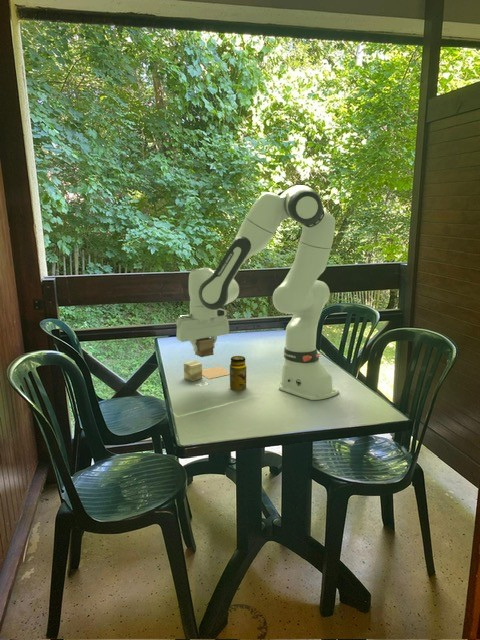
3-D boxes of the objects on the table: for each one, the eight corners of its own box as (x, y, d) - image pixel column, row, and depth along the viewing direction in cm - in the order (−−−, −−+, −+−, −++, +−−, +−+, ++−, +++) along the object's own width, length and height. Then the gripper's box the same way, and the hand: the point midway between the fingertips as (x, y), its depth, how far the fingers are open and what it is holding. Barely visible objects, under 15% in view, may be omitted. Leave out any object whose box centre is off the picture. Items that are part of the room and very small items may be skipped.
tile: (216, 386, 161) (216, 385, 161) (199, 389, 157) (199, 388, 157) (206, 380, 167) (206, 379, 167) (190, 384, 163) (190, 383, 163)
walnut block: (213, 354, 159) (212, 338, 158) (201, 357, 156) (200, 341, 155) (207, 352, 163) (206, 336, 162) (195, 354, 160) (194, 338, 159)
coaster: (232, 374, 173) (232, 373, 173) (209, 380, 167) (208, 378, 167) (218, 367, 182) (218, 366, 182) (195, 372, 176) (195, 371, 176)
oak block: (202, 378, 168) (201, 363, 167) (192, 381, 165) (191, 366, 164) (194, 375, 172) (193, 360, 171) (184, 378, 168) (183, 363, 167)
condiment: (249, 391, 156) (249, 359, 153) (226, 393, 154) (225, 361, 151) (244, 384, 163) (244, 353, 160) (222, 386, 161) (222, 355, 158)
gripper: (179, 317, 149) (182, 356, 151) (230, 310, 159) (231, 346, 162) (172, 315, 154) (174, 352, 156) (221, 308, 165) (223, 343, 167)
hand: (204, 349), depth 159 cm, fingers closed on walnut block, 5 cm apart
